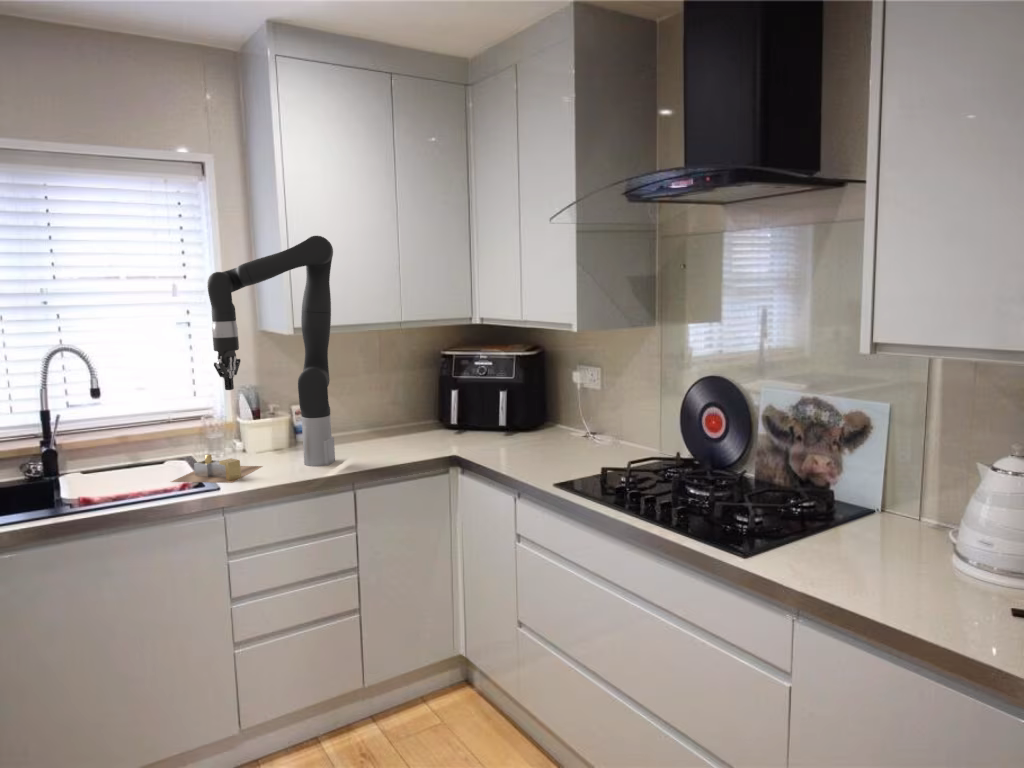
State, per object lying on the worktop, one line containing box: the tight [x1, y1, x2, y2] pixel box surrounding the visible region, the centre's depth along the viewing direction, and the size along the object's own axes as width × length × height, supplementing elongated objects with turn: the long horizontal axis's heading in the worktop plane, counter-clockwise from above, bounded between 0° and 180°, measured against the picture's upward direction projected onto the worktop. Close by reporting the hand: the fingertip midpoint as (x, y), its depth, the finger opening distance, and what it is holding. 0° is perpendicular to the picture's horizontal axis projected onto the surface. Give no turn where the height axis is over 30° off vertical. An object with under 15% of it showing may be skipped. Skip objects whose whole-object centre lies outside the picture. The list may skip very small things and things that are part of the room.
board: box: [170, 465, 264, 484], centre depth 228 cm, size 20×20×1 cm
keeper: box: [218, 458, 242, 481], centre depth 222 cm, size 5×4×6 cm
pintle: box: [204, 453, 213, 464], centre depth 228 cm, size 2×2×6 cm
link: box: [193, 459, 226, 478], centre depth 226 cm, size 13×5×4 cm, turn 68°
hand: (229, 389), depth 231 cm, fingers closed
